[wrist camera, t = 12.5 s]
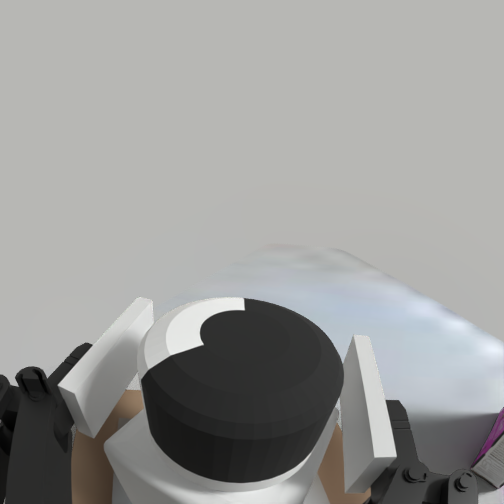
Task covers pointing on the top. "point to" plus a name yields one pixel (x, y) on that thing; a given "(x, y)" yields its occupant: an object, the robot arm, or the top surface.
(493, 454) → the candy bar box
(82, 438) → the walnut base
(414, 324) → the top surface
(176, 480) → the medicine bottle
